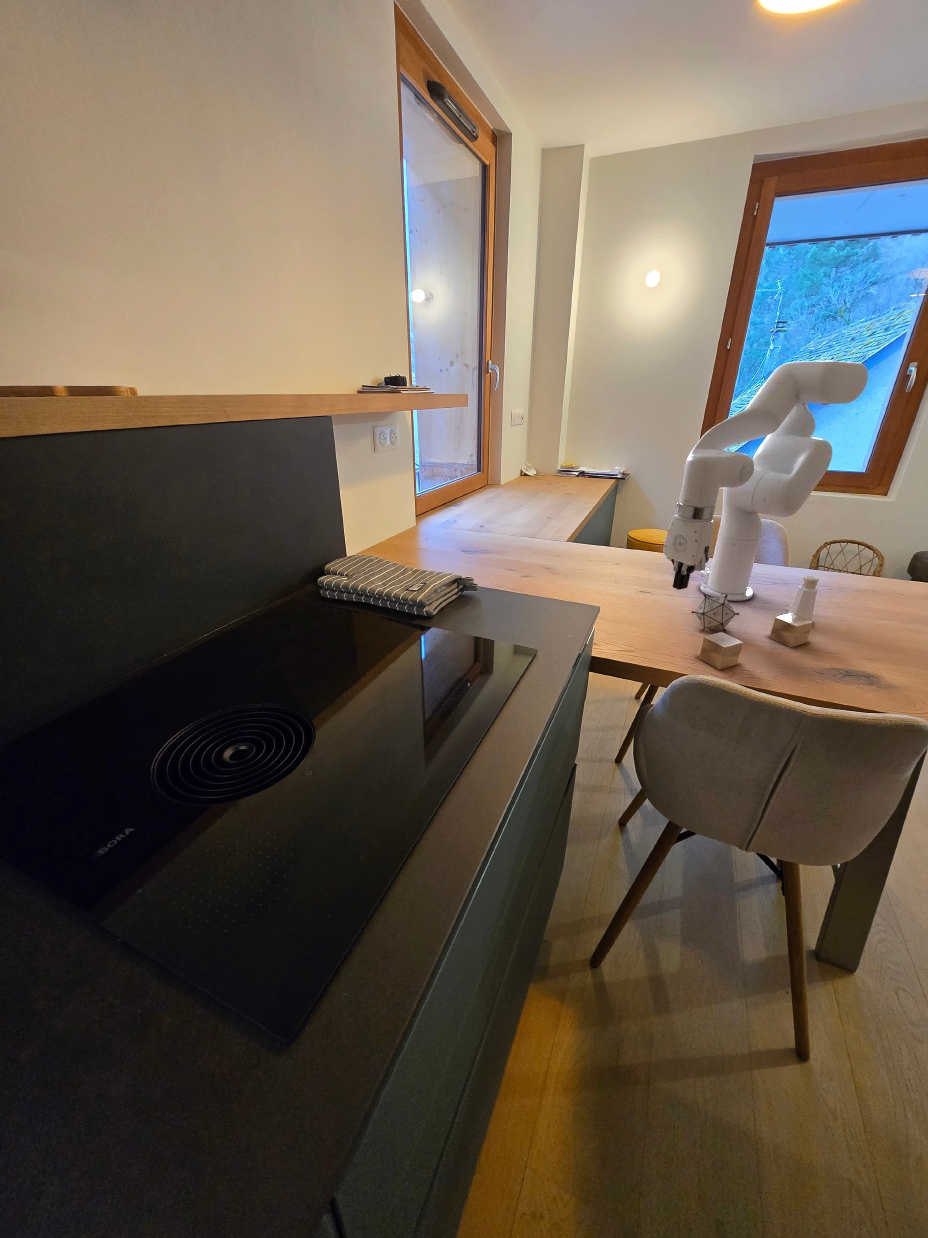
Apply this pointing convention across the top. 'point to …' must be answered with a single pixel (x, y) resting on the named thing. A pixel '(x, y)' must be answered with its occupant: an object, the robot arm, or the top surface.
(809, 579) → the salt shaker
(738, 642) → the maple block
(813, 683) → the top surface
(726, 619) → the clear faceted polyhedron
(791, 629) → the maple block
